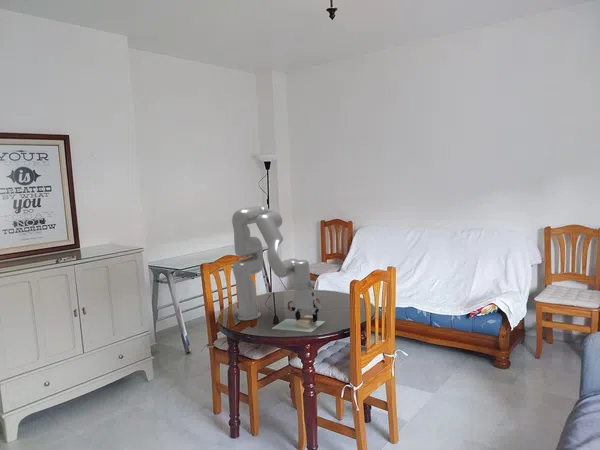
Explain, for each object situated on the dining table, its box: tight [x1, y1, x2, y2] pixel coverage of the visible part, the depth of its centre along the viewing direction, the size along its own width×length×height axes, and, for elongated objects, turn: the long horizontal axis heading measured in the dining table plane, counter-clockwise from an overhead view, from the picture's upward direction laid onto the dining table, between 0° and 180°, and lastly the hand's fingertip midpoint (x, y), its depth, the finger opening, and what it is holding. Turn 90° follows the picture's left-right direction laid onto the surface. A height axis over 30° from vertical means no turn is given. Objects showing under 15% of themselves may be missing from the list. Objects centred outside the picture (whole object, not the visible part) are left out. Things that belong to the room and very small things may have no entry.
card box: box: [296, 314, 318, 329], centre depth 223 cm, size 9×6×4 cm, turn 151°
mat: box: [271, 318, 326, 333], centre depth 225 cm, size 22×15×1 cm
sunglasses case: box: [287, 298, 321, 312], centre depth 255 cm, size 18×7×7 cm
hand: (306, 320), depth 223 cm, fingers open, 8 cm apart
